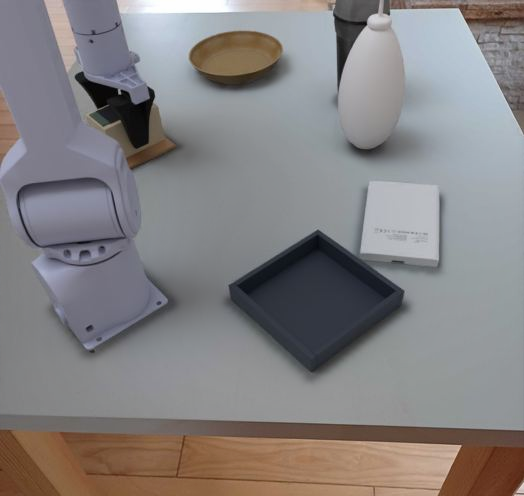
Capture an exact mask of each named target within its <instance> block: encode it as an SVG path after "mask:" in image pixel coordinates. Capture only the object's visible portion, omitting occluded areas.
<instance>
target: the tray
mask: <svg viewBox="0 0 524 496" xmlns="http://www.w3.org/2000/svg"><path fill="white" fill-rule="evenodd" d="M228 291H229V296H230V300H231V301H232V302H233V303H234V304H235V305H236V306H238V308H240V309H241V310H242V311H243V312H244V313H245V314H247V316H249V317H250V318H251V319H252V320H253V321H254V322H255V323H256V324H257V325H259V327H260V328H261V329H262V330H264V331H265V332H266V333H267V334H269V336H270V337H271V338H273V339H274V340H275V341H276V342H277V343H278V344H279V345H280V346H282V348H284V350H285V351H287V352H288V353H289V354H290V355H291V356H292V357H293V358H294V359H295V360H297V361H298V363H300V364H301V365H302V366H303V367H305V369H307V370H308V371H309V372H310V373H313V372H315V370H317V369H318V368H319V367H321V366H323V364H325V363H327V362H328V360H330V359H332V358H333V357H334V356H336V355H337V354H338V353H339V352H341V351H342V350H344V349H345V348H347V347H348V346H349V345H350V344H352V343H353V342H354V341H356V340H357V339H358V338H360V337H361V336H362V335H364V334H365V333H367V332H368V331H369V330H370V329H372V328H373V327H374V326H376V325H377V324H379V323H380V322H381V321H382V320H384V319H385V318H386V317H388V316H389V315H390V314H391V313H393V312H394V311H395V310H397V309H398V308H400V307H401V306H402V305H403V301H404V297H405V292H406V290H404V289H403V288H402V287H400V286H398V285H397V284H396V283H394V282H393V281H391V279H389V278H387V277H386V276H385V275H383V274H381V273H380V272H379V271H378V270H376V269H375V268H373V267H372V266H370V265H369V264H368V263H366V262H365V261H364V260H361V259H359V256H357V255H355V254H354V253H352V252H351V251H350V250H348V249H347V248H345V247H344V246H342V245H341V244H340V243H338V242H337V241H335V239H332V237H330V236H328V235H327V234H326V233H324V232H323V231H321V230H320V229H316V230H314V231H313V232H311V233H310V234H308V235H307V236H305V237H303V238H302V239H300V240H299V241H297V242H296V243H294V244H292V245H291V246H289V247H287V248H285V249H284V250H282V251H281V252H279V253H278V254H276V255H274V256H273V257H271V258H270V259H268V260H266V261H265V262H263V263H261V264H260V265H259V266H256V267H255V268H253V269H252V270H250V271H249V272H247V273H246V274H244V275H242V276H240V277H239V278H238V279H236V280H234V281H233V282H231V283H230V284H229V285H228Z"/></svg>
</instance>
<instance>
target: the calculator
mask: <svg viewBox="0 0 524 496" xmlns="http://www.w3.org/2000/svg"><path fill="white" fill-rule="evenodd" d="M85 116H86V120H87V124H88V125H90V126H91V127H93V128H95V129H97V130H99V131H100V132H102V133H104V134H106V135H108V136H110V137H111V138H113V139H115V140H116V141H117V142H119V144H120V148H121V149H123V151H124V154H125V158H127V157H129V156H132V155H134V154H136V153H138V152H140V151H142V150H144V149H146V148H148V147H150V146H152V145H155V144H157V143H159V142H161V141H163V140H165V137H166V136H165V132H164V127H163V123H162V118H161V114H160V110H159V105H158V104H157V103H154V102H153V104H152V108H151V112H150V119H149V143H148V144H146V145H144V146H142V147H140V148H138V149H135V148H134V147H133V146H132V144H131V142H130V140H129V138H128V136H127V133H126V131H125V129H124V126H123V124H122V122H121V120H120V119H119V117H118V115H117V114H116V113H115V111H114V110H113V109H112V108H111V106H110V105H107V106H105V107H102V108H100V109H95V110H93V111H91V112H89V113H86V114H85Z"/></svg>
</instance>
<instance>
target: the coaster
mask: <svg viewBox="0 0 524 496" xmlns="http://www.w3.org/2000/svg"><path fill="white" fill-rule="evenodd" d="M175 148H177V144H175V143H174V142H173V141H171V140H170V139H169V138H167V137H166V136H165V140H163V141H161V142H159V143H157V144H155V145H152V146H150V147H148V148H146V149H144V150H142V151H140V152H138V153H136V154H134V155H132V156H129V157H127V158H126V161H127V164H128V166H129V169H130V170H133V169H135V168H136V167H139V166H141V165H143V164H145V163H147V162H148V161H151V160H153V159H155V158H158V157H159V156H161V155H163V154H165V153H168V152H169V151H171V150H173V149H175Z"/></svg>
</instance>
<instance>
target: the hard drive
mask: <svg viewBox="0 0 524 496" xmlns="http://www.w3.org/2000/svg"><path fill="white" fill-rule="evenodd" d="M366 192H367V194H366V201H365V209H364V216H363V217H364V218H363V225H362V233H361V241H360V249H359V256H358V258H359V259H361V260H362V261H370V262H382V263H397V264H398V263H399V264H404V265H412V266H423V267H432V268H438V266H439V263H440V186H439V185H436V184H426V183H425V184H424V183H411V182H399V181H387V180H386V181H385V180H369V181H368V187H367V191H366Z"/></svg>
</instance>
